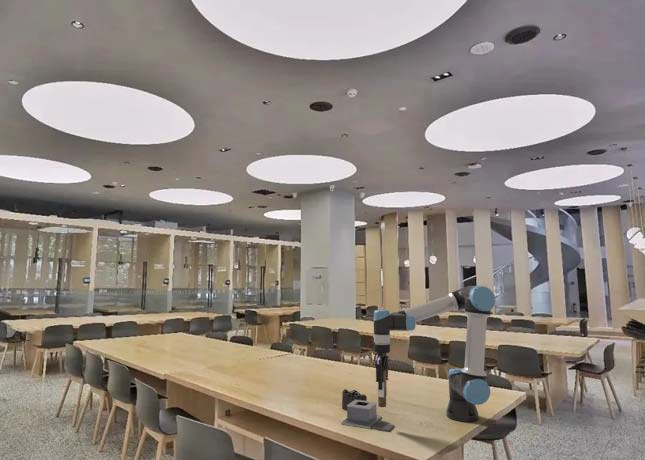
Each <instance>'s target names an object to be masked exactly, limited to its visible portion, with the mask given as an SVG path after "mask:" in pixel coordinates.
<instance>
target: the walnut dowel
mask: <svg viewBox="0 0 645 460" xmlns="http://www.w3.org/2000/svg"><path fill="white" fill-rule="evenodd" d="M383 382H384V397H378V396H377V397H378V398H377V400H378V401H377V402H378V404H377V405H378V408H387V395H386V370H385V369H384V374H383Z"/></svg>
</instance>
